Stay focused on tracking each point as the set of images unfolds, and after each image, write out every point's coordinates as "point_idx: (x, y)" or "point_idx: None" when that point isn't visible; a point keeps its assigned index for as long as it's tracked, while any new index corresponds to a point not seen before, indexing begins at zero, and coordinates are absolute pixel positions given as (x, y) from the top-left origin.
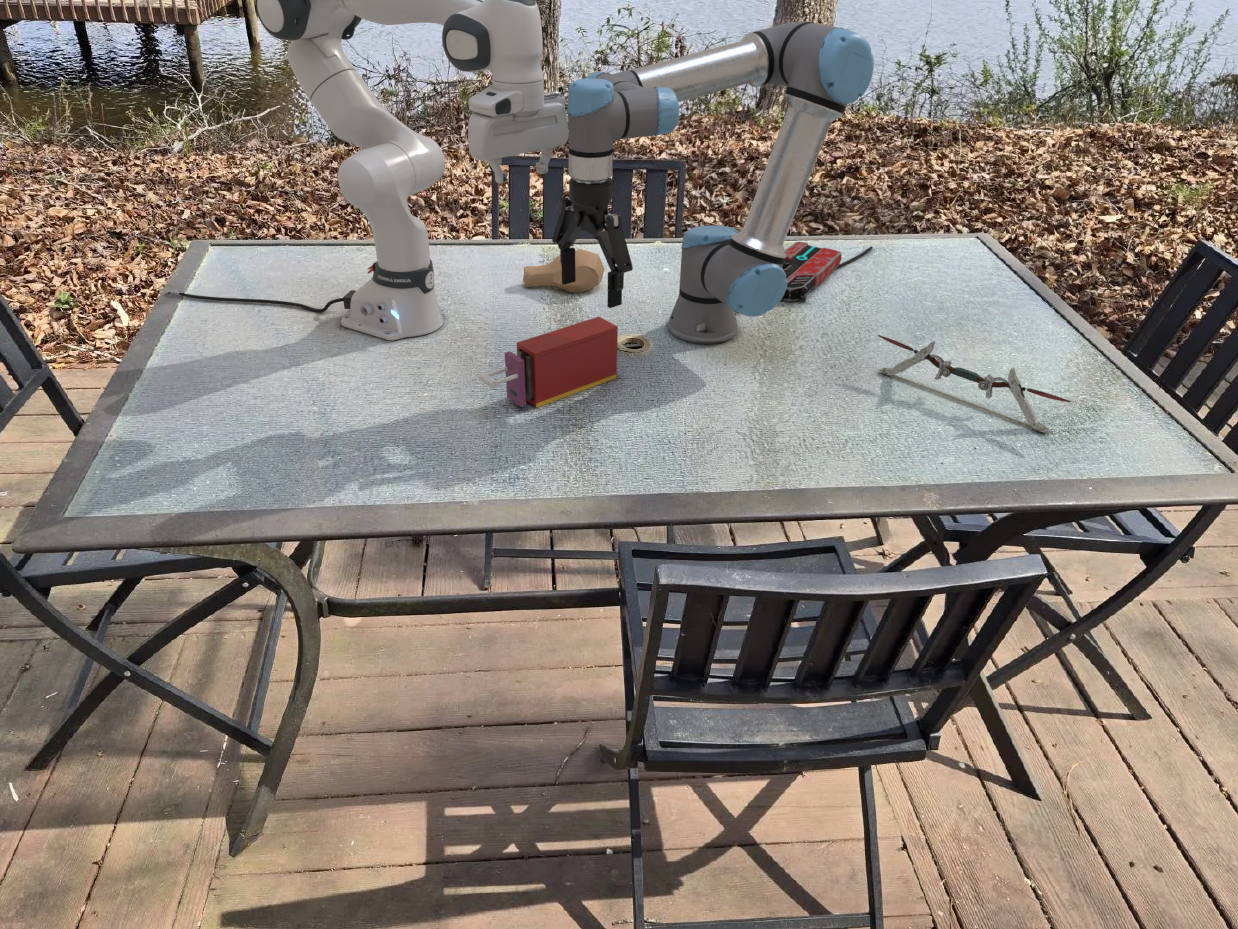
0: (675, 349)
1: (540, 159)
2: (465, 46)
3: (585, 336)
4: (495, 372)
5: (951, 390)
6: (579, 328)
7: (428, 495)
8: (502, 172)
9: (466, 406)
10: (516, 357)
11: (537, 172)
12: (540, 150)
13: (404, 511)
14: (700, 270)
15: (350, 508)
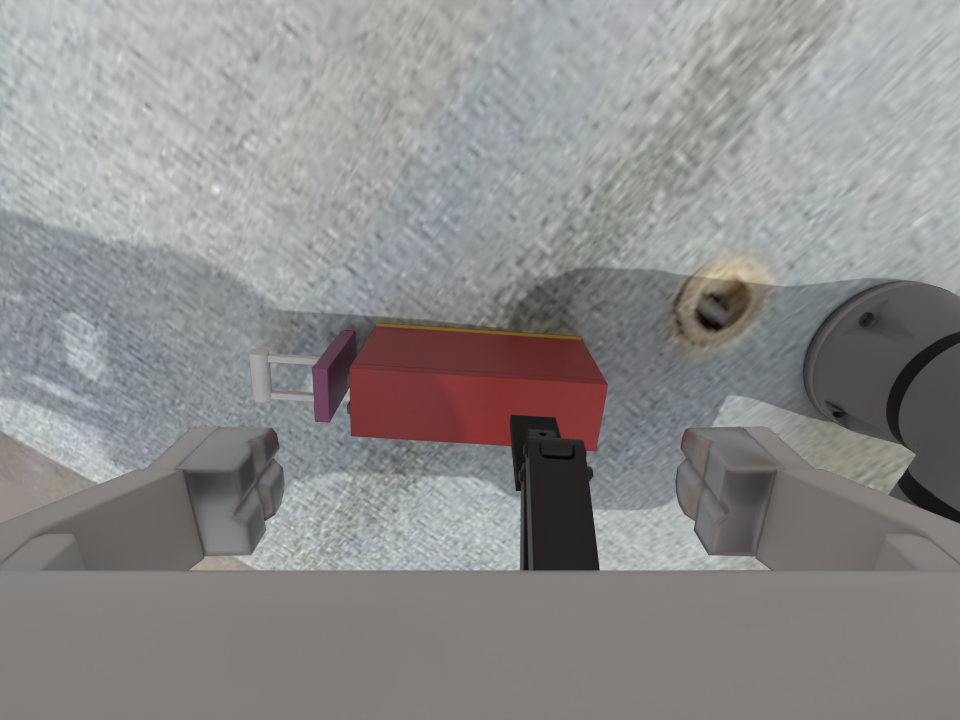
0: (756, 381)
1: (801, 496)
2: None
3: (499, 443)
4: (289, 363)
5: None
6: (519, 405)
7: (96, 466)
8: (185, 566)
9: (268, 289)
10: (322, 402)
11: (681, 442)
12: (889, 563)
13: (51, 475)
14: (940, 496)
15: None
